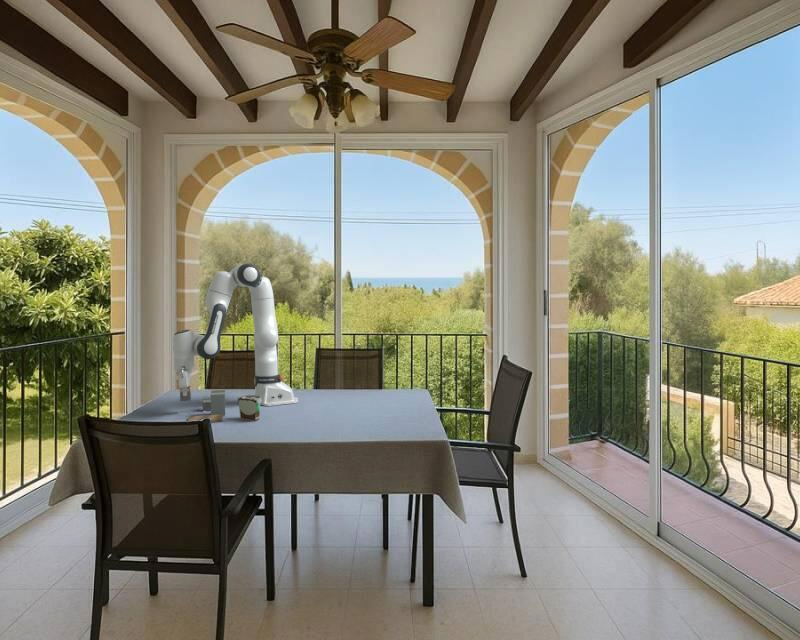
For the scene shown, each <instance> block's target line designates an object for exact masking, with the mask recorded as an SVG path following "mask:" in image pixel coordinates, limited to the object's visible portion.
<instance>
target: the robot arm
mask: <svg viewBox="0 0 800 640" xmlns="http://www.w3.org/2000/svg"><path fill="white" fill-rule="evenodd" d="M238 287H240V288H241V287H243V288H244V287H247V289H248V290H249V293H250V301H251V313H252V314H251V315H252V319H253V327H254V333H253V345H254V346H253V347H254V360H255V361H254V364H255V365H254V366H255V367H254V370H255V374H254V378H253V380H254V387H255V389H254V395H257V396H260V398H261V400H262V402H261V403H260V406H265V407H271V406H273V407H274V406H279V405H280V406H282V405H290V404H296V403H298V402H299V398H298V397H297V396H295V394H294V391H293V389H292V387H291V386H289V385H288V384H286V383H285V382H283V381H284V375H281V374H279V369H278V368H279V366H278V365H279V364H278V361H279V359H278V350H277V349H278V348H277V344H278V342H279V330H278V324H277V318H276V308H275V298H274V291H273V286H272V283H271V280H270V279H269V278H268V277H266V276H263V275H262V274H261V272H260V270H259V268H258V267H256V265H255V264H252V263H247V262H246V263H240V264H238V265H235V266H232V267H231V268H230V269H229V270H228V271H223V270H221V271H218V272H216V274H215V275H214V276H213V278H212V280H211V282H210V284H209V287H208V289H207V293H206V297H205V306H206V309H207V310H208V313H209V321H208V325H207V328H206V332H205V335H202V334H200V333H196V332H194V331H192V330H191V329H182V330H179V331H176V332H175V333H174V334H173V338H172V351H173V354H174V355H173V369H174V370H175V371H176V373H178V387H179V389H180V388H182V391H183V396H187V387H188V386H189V385H190V383H191V380H192V371H193V369H195V357H196V356H199V357H200V358H202V359H204V360H212V359H214V358H216V357H217V356H218V355H219V354H220V352H221V334H222V331H223V326H224V322H225V319H226V315H227V311H228V307H229V306H230V301H231V299H232V297H233V293H234V292H233V291H235V289H236V288H238Z"/></svg>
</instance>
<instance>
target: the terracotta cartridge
mask: <svg viewBox="0 0 800 640" xmlns="http://www.w3.org/2000/svg"><path fill="white" fill-rule="evenodd" d="M179 400H180V401H179V402H188V401H189V402H190V401H192V386H189V385H188V387H187V396H183V391H182V388H179Z"/></svg>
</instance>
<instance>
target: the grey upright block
mask: <svg viewBox="0 0 800 640" xmlns="http://www.w3.org/2000/svg"><path fill="white" fill-rule="evenodd" d="M210 397H211V411H210V415H217V414H223V417H225V416H226V390H225V389H211V390H210Z"/></svg>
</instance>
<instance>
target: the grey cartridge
mask: <svg viewBox="0 0 800 640" xmlns="http://www.w3.org/2000/svg"><path fill="white" fill-rule="evenodd" d="M203 411H206V412H211V396H205V397H202V412H203Z"/></svg>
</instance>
